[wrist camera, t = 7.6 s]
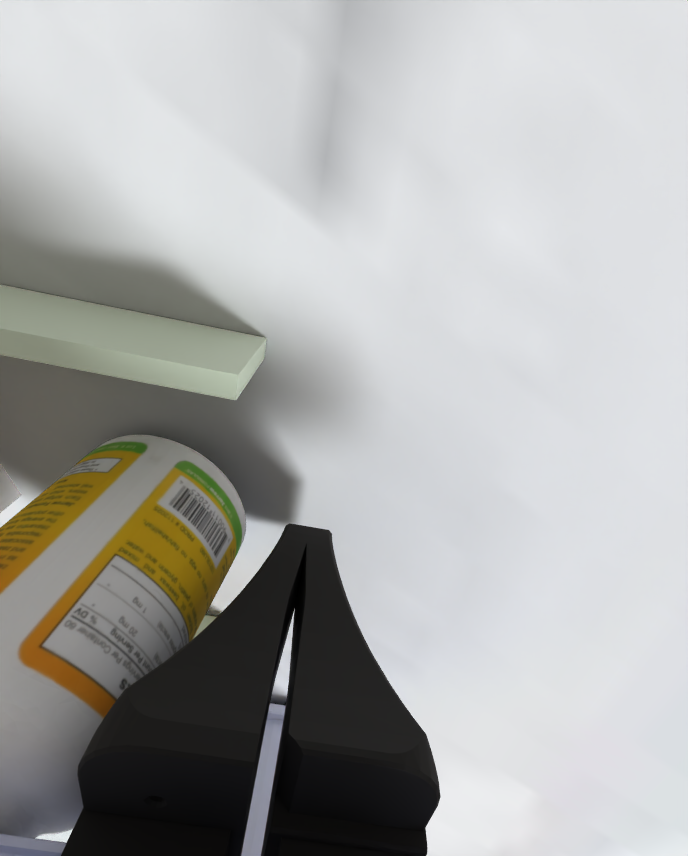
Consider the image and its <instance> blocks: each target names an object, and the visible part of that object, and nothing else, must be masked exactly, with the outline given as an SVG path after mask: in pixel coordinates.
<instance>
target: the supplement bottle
mask: <svg viewBox="0 0 688 856" xmlns="http://www.w3.org/2000/svg"><path fill="white" fill-rule="evenodd" d="M245 532H246V516H245V511H244V508H243V505H242V502H241V500H240V498H239V495H238V493H237V491H236V490H235V488H234V486H233V485H232V483H231V482H230V481H229V479H228V478H227V477H226V476H225V475H224V474H223V472H222V471H221V470H220V469H219V468H218V467H217V466H215V465H214V464H213V463H212V462H211V461H210V460H208V459H207V458H206V457H204V456H203V455H201V454H200V453H198V452H197V451H195V450H193V449H191V448H189V447H187V446H185V445H183V444H180V443H178V442H175V441H173V440H169V439H165V438H161V437H157V436H151V435H127V436H121V437H117V438H114V439H111V440H109V441H107V442H105V443H103V444H101V445H100V446H98V447H97V448H96V449H94V450H93V451H92V452H91V453H89V454H88V455H86V456H85V457H84V458H83V459H82V460H81V461H79V462H78V463H77V464H76V465H75V466H74V467H72V468H71V469H70V470H69V471H67V472H66V473H65V474H64V475H63V476H62V477H60V478H59V479H58V480H57V481H56V482H55V483H53V484H52V485H51V486H50V487H49V488H47V489H46V490H45V491H44V492H43V493H41V494H40V495H39V496H38V497H37V498H35V499H34V500H33V501H32V502H31V503H29V504H28V505H27V506H26V507H25V508H23V509H22V510H21V511H20V512H19V513H17V514H16V515H15V516H14V517H13V518H11V519H10V520H9V521H8V522H7V523H5V524H4V525H3V526H2V527H1V528H0V834H5V835H13V836H20V837H27V838H36V837H37V836H41V835H53V834H58V833H62V832H65V831H69V830H71V829H73V828H74V826H75V824H76V822H77V820H78V818H79V816H80V814H81V811H82V809H83V802H82V797H81V792H80V786H79V781H78V776H77V772H78V765H79V763H80V761H81V759H82V757H83V755H84V753H85V751H86V749H87V747H88V745H89V743H90V741H91V739H92V737H93V735H94V733H95V732H96V730H97V728H98V727H99V725H100V724H101V722H102V721H103V719H104V717H105V716H106V714H107V713H108V711H109V710H110V709H111V707H112V706H113V704H114V703H115V702H116V700H117V699H118V698H119V696H120V695H121V694H122V693H123V691H124V690H125V689H126V688H127V687H129V686H130V685H132V684H133V683H135V682H136V681H137V680H139V679H140V678H142V677H143V676H145V675H146V674H148V673H149V672H151V671H152V670H153V669H155V668H156V667H158V666H159V665H161V664H162V663H163V662H165V661H166V660H167V659H169V658H170V657H171V656H172V655H174V654H175V653H176V652H177V651H179V650H180V649H181V648H182V647H184V646H185V645H186V644H187V643H189V642H190V641H191V640H192V639H193V637H194V636H195V634H196V632H197V630H198V628H199V626H200V624H201V622H202V620H203V618H204V616H205V615H206V613H207V611H208V609H209V607H210V605H211V603H212V601H213V599H214V597H215V595H216V593H217V591H218V590H219V588H220V586H221V584H222V582H223V580H224V578H225V576H226V574H227V573H228V571H229V569H230V567H231V565H232V563H233V561H234V559H235V557H236V555H237V553H238V551H239V549H240V546H241V544H242V542H243V540H244V536H245Z"/></svg>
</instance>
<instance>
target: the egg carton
mask: <svg viewBox="0 0 688 856" xmlns="http://www.w3.org/2000/svg"><path fill="white" fill-rule="evenodd" d="M21 495H22V494H21V493H20V491H19V490H18V488H17V487H16V485H15V484H14V483H13V481H12V480H11V478H10V477H9V475H8V474H7V472H6V471H5V469H4V468H3V466H2V465H1V464H0V513H1V512H2V511H3V510H4V509H6V508H7V507H8V506H9V505H10V504H12V503H13V502H14V501H15V500H16V499H18V498H19V497H20V496H21Z"/></svg>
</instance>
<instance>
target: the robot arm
mask: <svg viewBox="0 0 688 856" xmlns="http://www.w3.org/2000/svg"><path fill="white" fill-rule="evenodd" d="M294 608H295V612H294ZM293 612H294V624H293V637H292V650H291V662H290V675H289V685H288V694H287V700H286V706H284V705H278V704H272V703H270V700H271V695H272V690H273V686H274V682H275V678H276V674H277V670H278V667H279V663H280V659H281V656H282V652H283V648H284V645H285V641H286V638H287V634H288V630H289V627H290V623H291V619H292V616H293ZM77 776H78V781H79V786H80V792H81V797H82V802H83V809H82V811H81V814H80V816H79V818H78V820H77V822H76V824H75V826H74V828H73V831H72V833H71V835H70V837H69V839H68V841H67V843H65V842H57V841H50V840H42V839H35V838H27V837H20V836H13V835H5V834H0V856H426V855H427V840H426V830H425V827H426V826H427V824H428V822H429V820H430V818H431V817H432V815H433V813H434V811H435V810H436V808H437V806H438V803H439V800H440V790H439V781H438V776H437V771H436V767H435V763H434V759H433V755H432V752H431V748H430V745H429V742H428V739H427V736H426V734H425V732H424V731H423V730H422V728H421V727H420V726H419V725H418V723H417V722H416V721H415V719H414V718H413V717H412V715H411V714H410V712H409V711H408V710H407V708H406V707H405V706H404V704H403V703H402V701H401V700H400V698H399V697H398V695H397V694H396V692H395V691H394V689H393V688H392V686H391V685H390V683H389V682H388V680H387V678H386V676H385V675H384V673H383V671H382V670H381V668H380V666H379V665H378V663H377V661H376V660H375V658H374V656H373V654H372V653H371V651H370V649H369V647H368V645H367V643H366V641H365V639H364V637H363V635H362V633H361V631H360V628H359V626H358V624H357V622H356V619H355V617H354V615H353V612H352V610H351V607H350V604H349V602H348V599H347V597H346V594H345V591H344V588H343V584H342V581H341V578H340V575H339V571H338V568H337V564H336V559H335V555H334V550H333V543H332V533H331V532H330V531H329V530H325V529H319V528H313V527H307V526H302V525H296V524H288V525H286V526H285V529H284V531H283V533H282V535H281V537H280V539H279V541H278V543H277V544H276V546H275V547H274V549H273V551H272V552H271V554H270V555H269V557H268V558H267V559H266V561H265V562H264V564H263V565H262V566H261V568H260V569H259V571H258V572H257V573H256V574H255V576H254V577H253V578H252V579H251V581H250V582H249V583H248V584H247V585H246V587H245V588H244V589H243V590H242V591H241V593H240V594H239V595H238V596H237V597H236V598H235V599H234V600H233V601H232V602H231V604H230V605H229V606H228V607H227V608H226V609H225V610H224V611H223V612H222V613H221V614H220V615H219V616H218V617H217V618H216V619H214V620H213V621H212V622H211V623H210V624H209V625H208V626H207V627H206V628H205V629H204V630H203V631H202V632H200V633H199V634H198V635H197V636H196V637H195V638H194V639H192V640H191V641H190V642H189V643H187V644H186V645H185V646H184V647H182V648H181V649H180V650H179V651H177V652H176V653H175V654H174V655H172V656H171V657H170V658H169V659H167V660H166V661H165V662H163V663H162V664H161V665H159V666H158V667H156V668H155V669H153V670H152V671H151V672H149V673H148V674H146V675H145V676H143V677H142V678H140V679H139V680H137V681H136V682H135V683H133V684H132V685H130V686H129V687H127V688H126V689H125V690H124V691H123V693H122V694H121V695H120V696H119V698H118V699H117V700H116V702H115V703H114V704H113V706H112V707H111V709H110V710H109V711H108V713H107V714H106V716H105V717H104V719H103V721H102V722H101V724H100V725H99V727H98V728H97V730H96V732H95V733H94V735H93V737H92V739H91V741H90V743H89V745H88V747H87V749H86V751H85V753H84V755H83V757H82V759H81V761H80V763H79V765H78V772H77Z"/></svg>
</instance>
